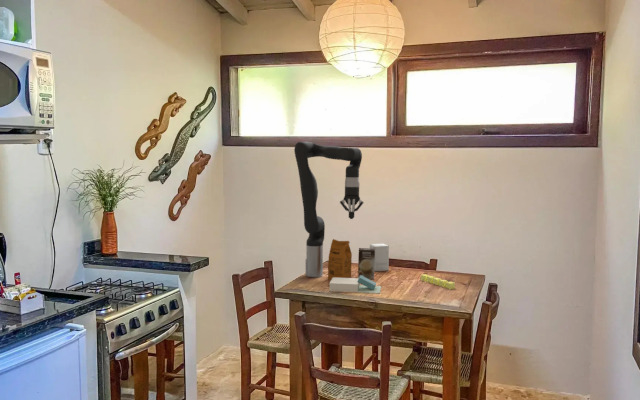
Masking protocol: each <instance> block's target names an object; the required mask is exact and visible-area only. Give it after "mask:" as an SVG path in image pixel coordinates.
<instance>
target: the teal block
mask: <svg viewBox="0 0 640 400" xmlns="http://www.w3.org/2000/svg"><path fill="white" fill-rule="evenodd" d="M357 282H358V283H360V285H364V286H366V287H368V288H370V289H372V290H374V288H375V286H377V282H375V281H374V280H372V279H367V278H366V277H364V276H362V275H360V277H359V279H358V281H357Z"/></svg>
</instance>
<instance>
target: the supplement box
mask: <svg viewBox="0 0 640 400" xmlns="http://www.w3.org/2000/svg"><path fill="white" fill-rule="evenodd" d="M369 248H370V249H375V265H374V272H383V271H384V272H385V271H387V272H388V271H389V270H390V269H389V266H390V265H389V263H390V262H389V259H390V257H389V253H390V247H389V245H388V244H386V243H369Z"/></svg>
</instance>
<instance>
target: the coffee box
mask: <svg viewBox="0 0 640 400" xmlns="http://www.w3.org/2000/svg"><path fill="white" fill-rule="evenodd" d="M357 259H358V260H357V261H358V264H357V278H359V277H360V275H362V276H364V277H366V278H367V279H369V280H375V271H374V265H375V249H370V247H369V248H365V247H364V248H362V247H359V248H358V258H357Z"/></svg>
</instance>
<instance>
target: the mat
mask: <svg viewBox="0 0 640 400" xmlns="http://www.w3.org/2000/svg"><path fill="white" fill-rule="evenodd" d="M381 290H382V285H376V286H375V288H374V290H372V289H370V288H368V287H366V286H364V285H362V284H360V286H359V289H358V292H357V293H359V294H361V293H362V294H376V295H377V294H378V295H379V294H381Z"/></svg>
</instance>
